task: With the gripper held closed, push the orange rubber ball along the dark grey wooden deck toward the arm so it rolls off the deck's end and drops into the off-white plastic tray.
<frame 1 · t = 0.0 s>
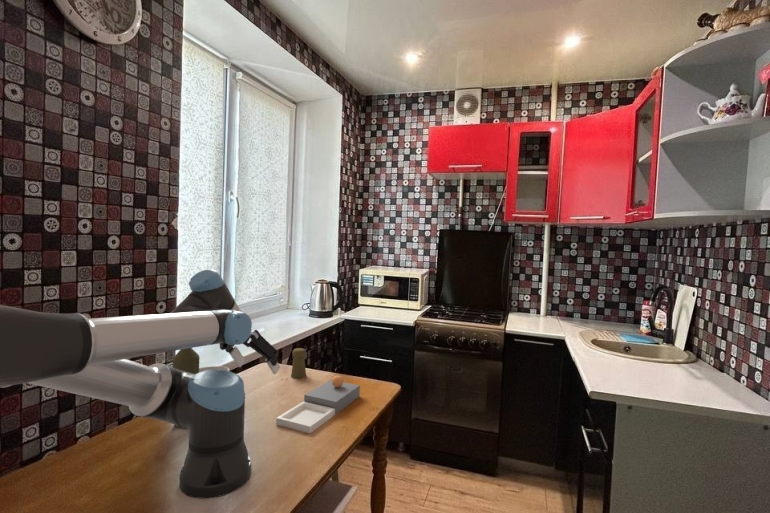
hand: (259, 367, 123), 15 cm above the table, tool tilted 35°, fingers open, 13 cm apart
tray: (306, 419, 122), on the table
deck: (332, 401, 136), on the table
cork: (298, 376, 160), on the table
ball: (337, 381, 139), point 6 cm above the table, touching deck
plastic cup: (211, 405, 131), on the table
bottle: (185, 425, 117), on the table
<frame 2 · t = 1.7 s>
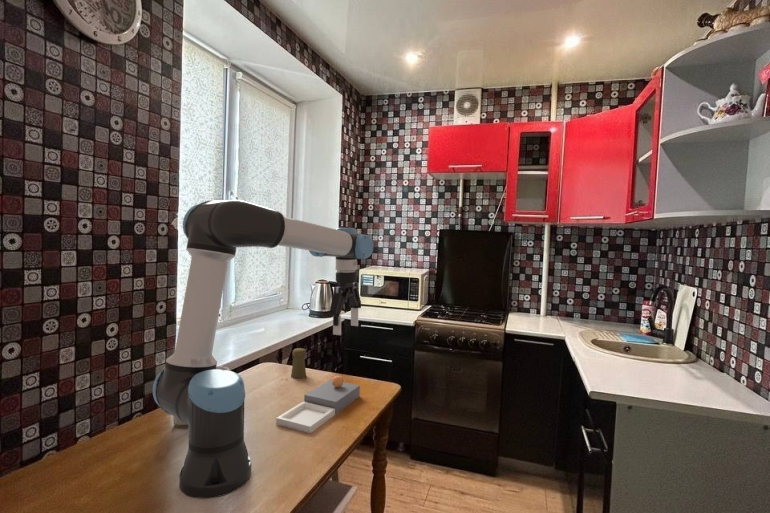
hand: (346, 330, 145), 22 cm above the table, tool pointing down, fingers open, 13 cm apart
nothing on the table moved.
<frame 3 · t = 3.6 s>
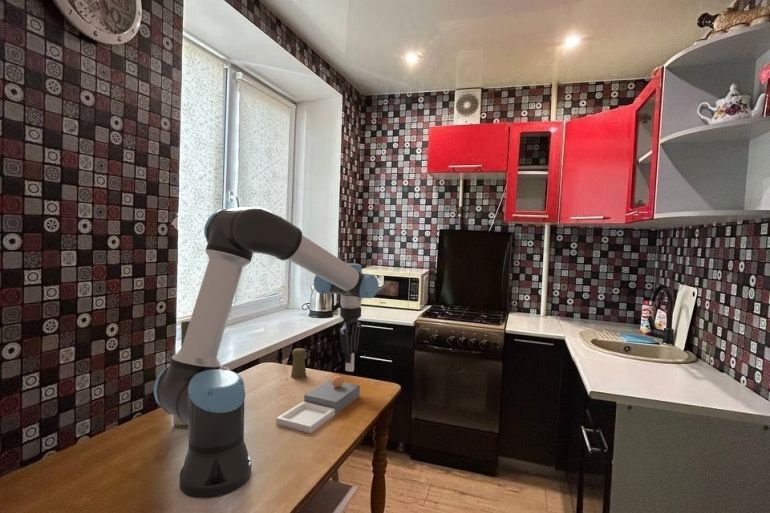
hand: (349, 370, 146), 7 cm above the table, tool pointing down, fingers closed
nothing on the table moved.
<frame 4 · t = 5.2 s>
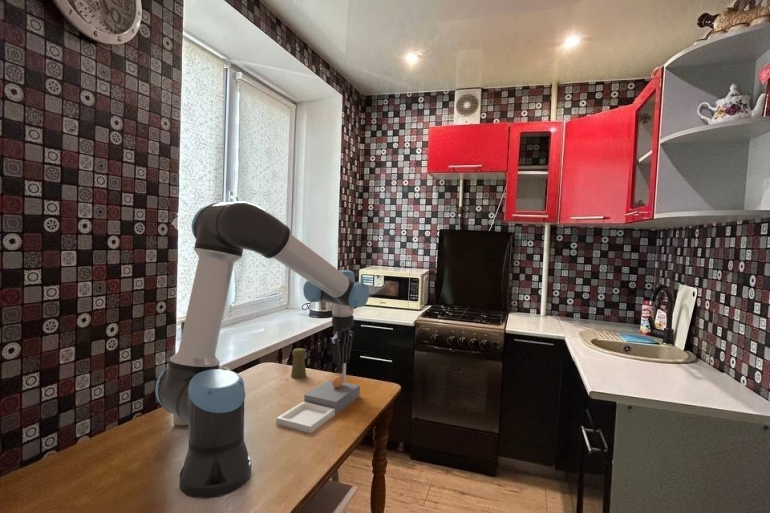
hand: (341, 381, 141), 5 cm above the table, tool pointing down, fingers closed
ball: (337, 381, 139), point 6 cm above the table, tilted 6°, touching deck, gripper
everything else where it was.
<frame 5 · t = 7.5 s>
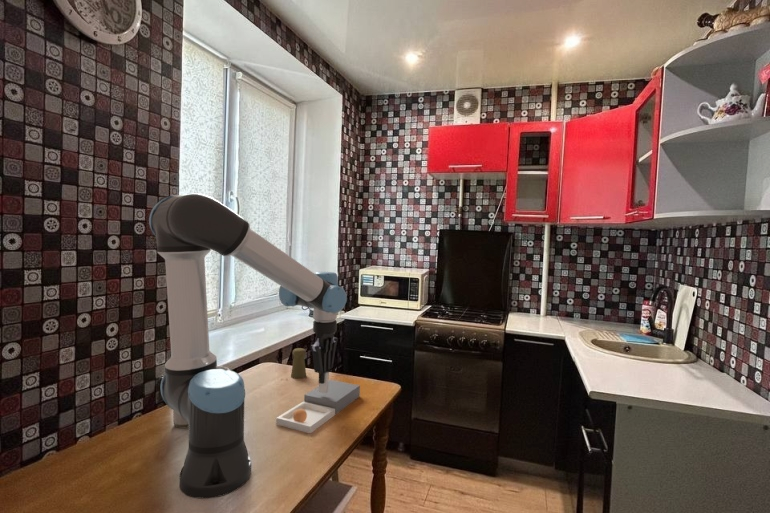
hand: (323, 391, 131), 5 cm above the table, tool pointing down, fingers closed
ball: (300, 415, 119), point 2 cm above the table, tilted 115°, touching tray
everything else where it was.
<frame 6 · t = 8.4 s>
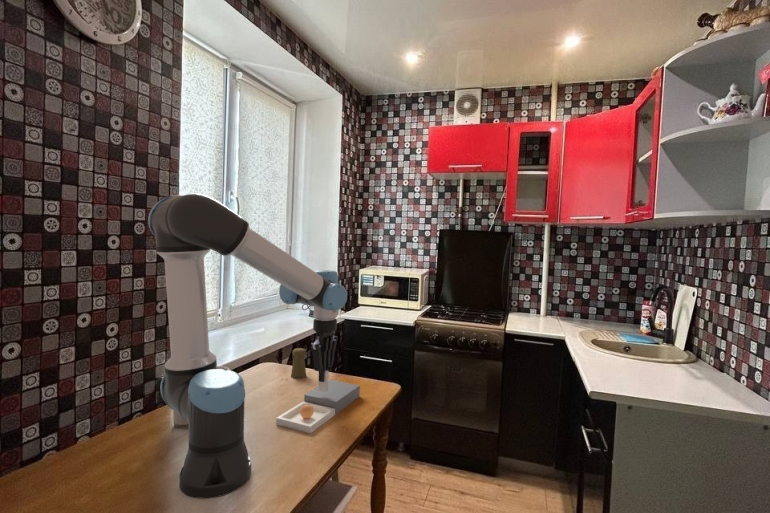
hand: (323, 390, 131), 6 cm above the table, tool pointing down, fingers closed
ball: (306, 411, 122), point 2 cm above the table, tilted 147°, touching tray
everything else where it was.
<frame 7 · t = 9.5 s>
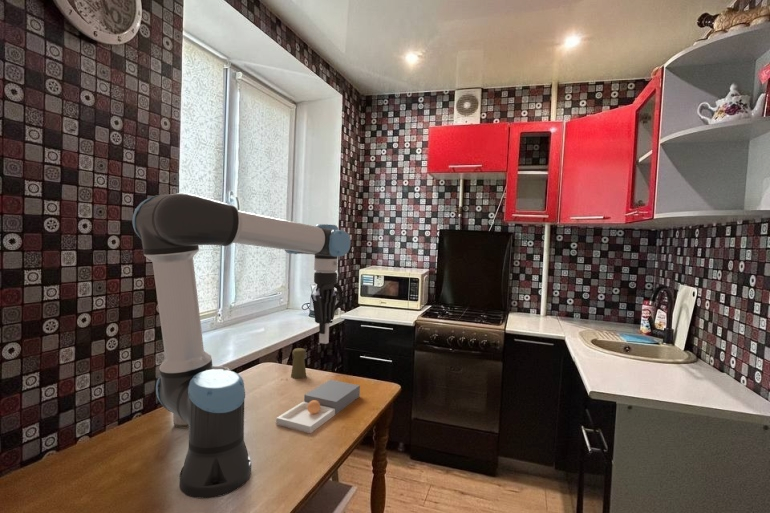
hand: (323, 342, 133), 21 cm above the table, tool pointing down, fingers closed
ball: (313, 407, 126), point 2 cm above the table, tilted 40°, touching tray
everything else where it was.
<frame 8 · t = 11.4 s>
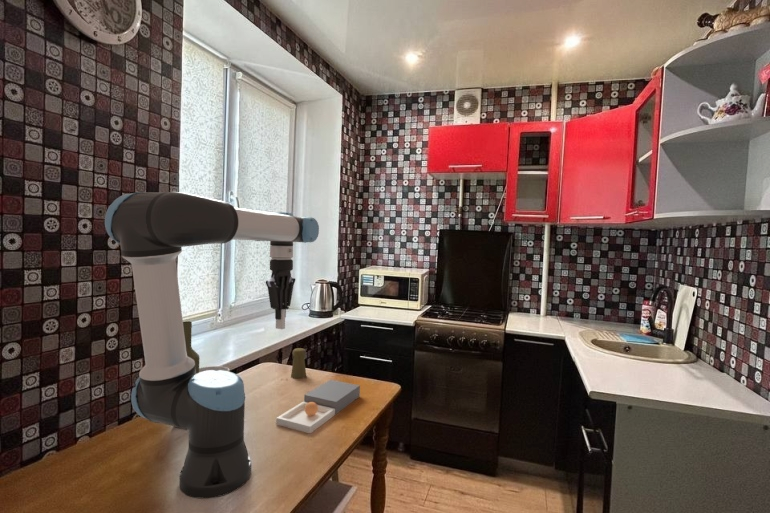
hand: (280, 328, 136), 24 cm above the table, tool pointing down, fingers closed
ball: (311, 408, 124), point 2 cm above the table, tilted 80°, touching tray
everything else where it was.
at the end: ball inside the target area on the tray (2.2 cm from its centre), point 2.5 cm above the tray's base; the gripper is holding nothing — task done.
